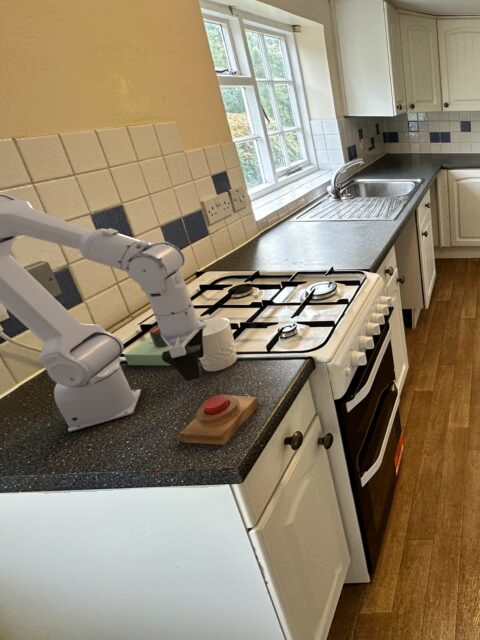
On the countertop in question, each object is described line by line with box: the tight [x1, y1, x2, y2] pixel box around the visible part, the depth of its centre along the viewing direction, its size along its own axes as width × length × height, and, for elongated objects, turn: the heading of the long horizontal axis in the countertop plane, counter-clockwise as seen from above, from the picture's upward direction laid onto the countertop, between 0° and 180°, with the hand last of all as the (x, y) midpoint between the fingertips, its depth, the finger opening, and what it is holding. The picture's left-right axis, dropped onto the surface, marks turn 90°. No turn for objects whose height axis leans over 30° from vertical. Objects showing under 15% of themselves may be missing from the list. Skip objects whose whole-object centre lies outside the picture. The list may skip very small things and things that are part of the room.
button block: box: [179, 394, 260, 446], centre depth 79 cm, size 10×8×4 cm
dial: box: [148, 324, 168, 347], centre depth 98 cm, size 4×4×4 cm
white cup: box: [198, 317, 238, 372], centre depth 95 cm, size 8×8×10 cm
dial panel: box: [123, 335, 171, 366], centre depth 100 cm, size 12×10×3 cm
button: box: [203, 394, 229, 415], centre depth 78 cm, size 4×4×2 cm
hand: (195, 367), depth 82 cm, fingers open, 7 cm apart
